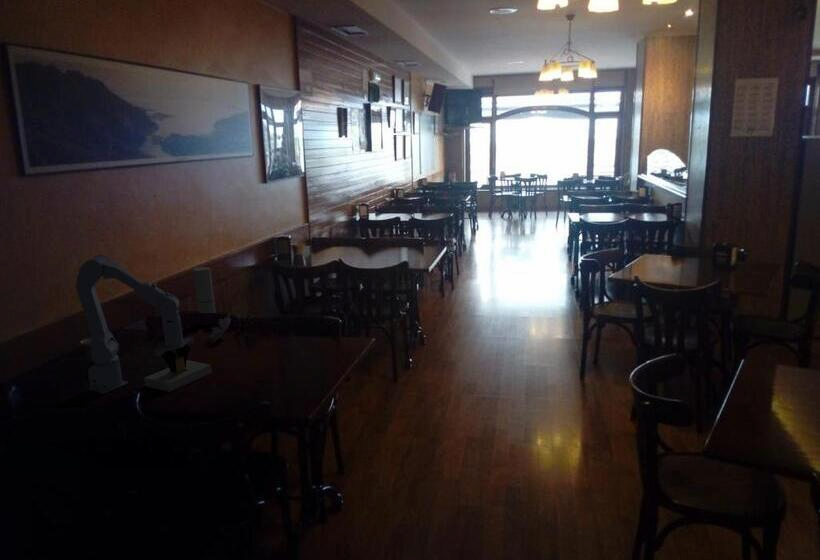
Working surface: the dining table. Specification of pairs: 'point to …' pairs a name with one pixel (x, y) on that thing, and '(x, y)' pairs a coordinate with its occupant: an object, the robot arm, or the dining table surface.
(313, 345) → the dining table surface
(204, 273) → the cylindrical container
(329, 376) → the dining table surface
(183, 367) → the peg
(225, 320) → the water lily
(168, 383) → the well block
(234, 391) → the dining table surface
